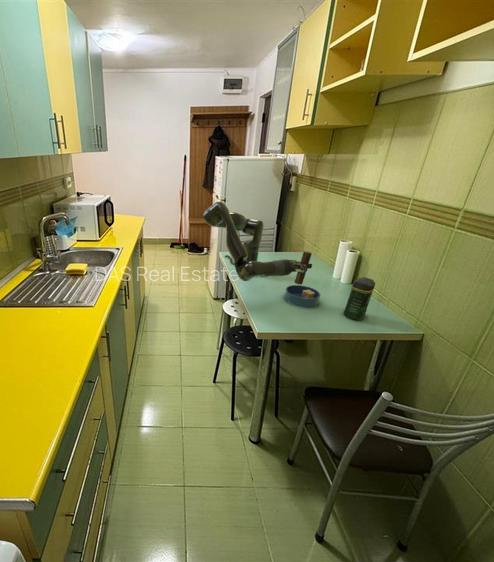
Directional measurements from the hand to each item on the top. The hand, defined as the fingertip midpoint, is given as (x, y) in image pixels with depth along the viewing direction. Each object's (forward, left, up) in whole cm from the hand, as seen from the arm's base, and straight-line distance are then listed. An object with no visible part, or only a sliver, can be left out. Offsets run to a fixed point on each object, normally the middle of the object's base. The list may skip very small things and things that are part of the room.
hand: (308, 264), depth 146 cm
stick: (0, -4, -9) cm, 10 cm away
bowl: (-1, +1, -20) cm, 20 cm away
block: (-1, +5, -19) cm, 20 cm away
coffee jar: (+19, +14, -20) cm, 31 cm away
